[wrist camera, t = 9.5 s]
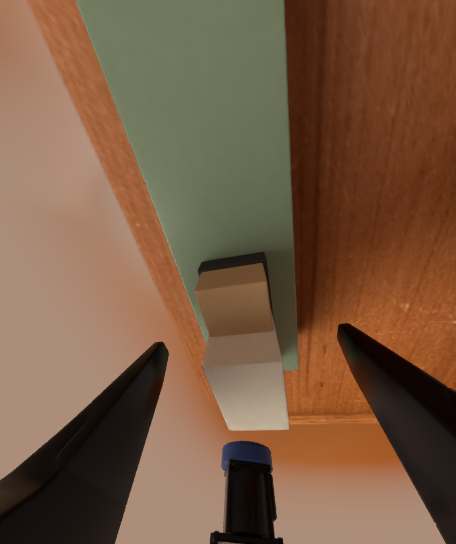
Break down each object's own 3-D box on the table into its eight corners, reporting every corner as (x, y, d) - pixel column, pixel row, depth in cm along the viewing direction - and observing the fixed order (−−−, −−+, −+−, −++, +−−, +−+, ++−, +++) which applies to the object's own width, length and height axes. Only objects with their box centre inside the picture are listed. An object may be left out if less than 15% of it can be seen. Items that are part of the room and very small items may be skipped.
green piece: (221, 343, 16) (217, 375, 14) (98, -40, 7) (5, -181, 4) (289, 336, 15) (299, 370, 13) (257, -117, 6) (272, -366, 3)
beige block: (277, 358, 12) (292, 432, 9) (231, 361, 13) (228, 432, 9) (264, 250, 9) (280, 302, 5) (200, 261, 9) (175, 315, 6)
